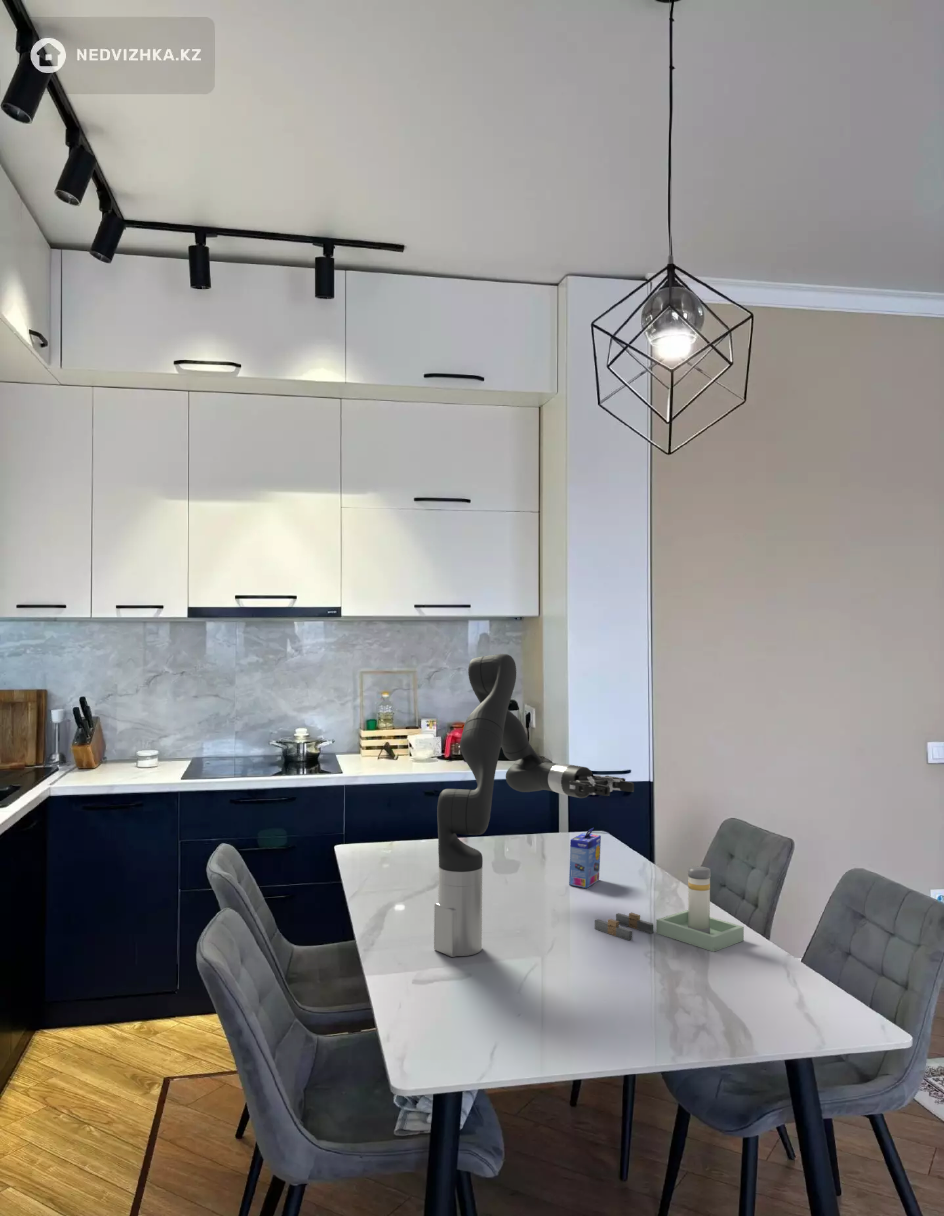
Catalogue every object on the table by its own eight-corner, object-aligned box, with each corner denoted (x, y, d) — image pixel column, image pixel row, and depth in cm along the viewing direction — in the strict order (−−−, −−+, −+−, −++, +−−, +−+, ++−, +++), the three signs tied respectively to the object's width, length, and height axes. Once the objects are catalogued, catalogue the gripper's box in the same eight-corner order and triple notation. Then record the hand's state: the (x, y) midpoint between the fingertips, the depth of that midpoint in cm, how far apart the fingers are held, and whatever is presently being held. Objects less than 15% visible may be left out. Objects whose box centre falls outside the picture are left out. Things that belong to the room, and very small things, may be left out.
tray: (713, 951, 191) (713, 937, 191) (656, 933, 202) (656, 919, 203) (743, 940, 198) (743, 926, 198) (686, 923, 210) (686, 910, 210)
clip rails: (629, 941, 197) (629, 927, 197) (594, 929, 205) (594, 915, 205) (653, 933, 203) (653, 919, 203) (618, 921, 210) (618, 908, 210)
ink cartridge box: (588, 889, 237) (588, 833, 237) (568, 886, 239) (568, 830, 240) (601, 880, 245) (601, 826, 246) (581, 877, 248) (582, 823, 248)
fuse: (701, 938, 197) (701, 873, 197) (683, 932, 201) (683, 868, 201) (714, 933, 200) (714, 869, 200) (696, 928, 204) (696, 865, 204)
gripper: (550, 767, 221) (600, 776, 208) (590, 762, 230) (641, 770, 218) (550, 798, 221) (600, 809, 208) (590, 792, 230) (640, 802, 218)
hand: (621, 789), depth 213 cm, fingers open, 8 cm apart
